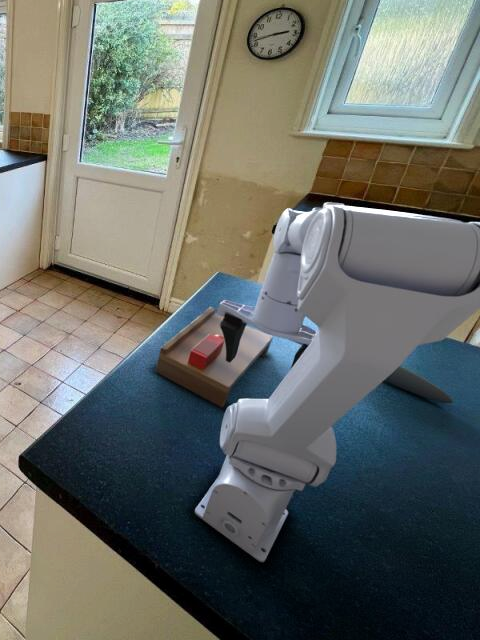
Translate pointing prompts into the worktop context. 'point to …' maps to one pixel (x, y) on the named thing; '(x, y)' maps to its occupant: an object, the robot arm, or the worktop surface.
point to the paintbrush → (417, 385)
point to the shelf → (218, 372)
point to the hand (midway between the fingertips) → (257, 371)
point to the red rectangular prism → (206, 351)
